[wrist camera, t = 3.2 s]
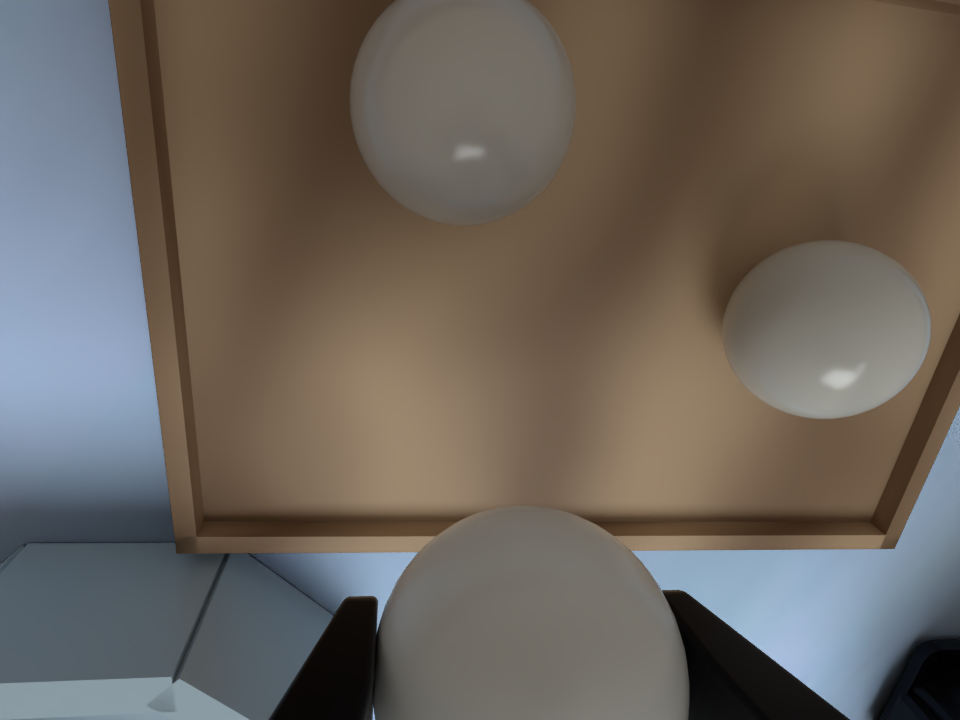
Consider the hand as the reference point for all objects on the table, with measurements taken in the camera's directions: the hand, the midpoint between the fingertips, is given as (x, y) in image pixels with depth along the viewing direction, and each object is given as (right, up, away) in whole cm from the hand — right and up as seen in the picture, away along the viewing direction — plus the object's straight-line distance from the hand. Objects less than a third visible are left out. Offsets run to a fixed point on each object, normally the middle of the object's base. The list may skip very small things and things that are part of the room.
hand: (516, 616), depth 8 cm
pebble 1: (-1, +8, +4) cm, 9 cm away
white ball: (0, 0, +1) cm, 1 cm away
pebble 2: (+7, +5, +6) cm, 10 cm away
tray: (+3, +5, +6) cm, 8 cm away
